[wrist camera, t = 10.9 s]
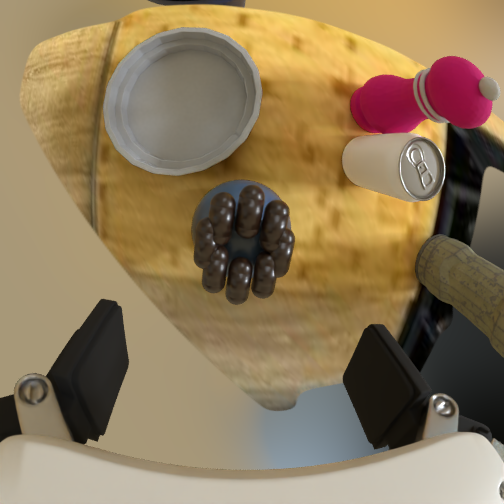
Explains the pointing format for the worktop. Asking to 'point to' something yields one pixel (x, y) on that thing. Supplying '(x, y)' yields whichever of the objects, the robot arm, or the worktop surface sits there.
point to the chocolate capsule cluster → (246, 226)
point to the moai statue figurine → (465, 284)
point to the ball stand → (236, 243)
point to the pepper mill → (426, 98)
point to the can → (395, 165)
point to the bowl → (182, 101)
